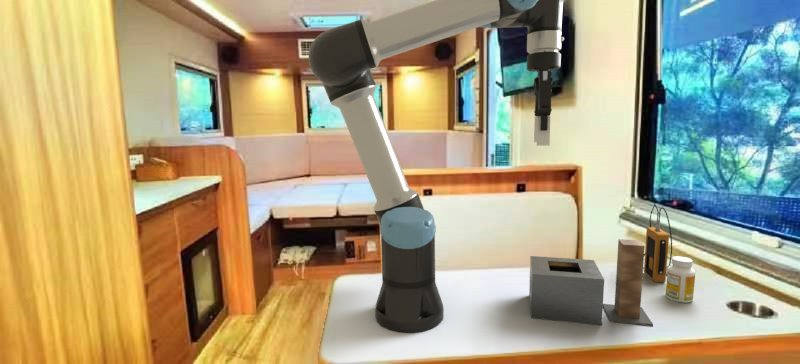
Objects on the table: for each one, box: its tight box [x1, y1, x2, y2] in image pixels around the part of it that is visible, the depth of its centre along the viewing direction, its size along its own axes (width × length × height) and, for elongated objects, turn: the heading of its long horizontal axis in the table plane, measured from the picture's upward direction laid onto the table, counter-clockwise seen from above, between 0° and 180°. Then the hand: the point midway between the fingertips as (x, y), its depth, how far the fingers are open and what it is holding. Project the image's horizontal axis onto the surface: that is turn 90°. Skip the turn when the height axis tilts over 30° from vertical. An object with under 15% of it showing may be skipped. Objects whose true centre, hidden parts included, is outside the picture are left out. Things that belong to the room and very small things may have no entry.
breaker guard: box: [528, 255, 605, 326], centre depth 92 cm, size 14×12×10 cm
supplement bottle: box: [665, 255, 696, 304], centre depth 96 cm, size 5×5×10 cm
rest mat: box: [603, 303, 654, 327], centre depth 89 cm, size 8×8×1 cm
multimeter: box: [643, 203, 673, 283], centre depth 107 cm, size 15×10×20 cm
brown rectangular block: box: [614, 238, 646, 319], centre depth 88 cm, size 4×4×16 cm
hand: (541, 143), depth 99 cm, fingers open, 13 cm apart
